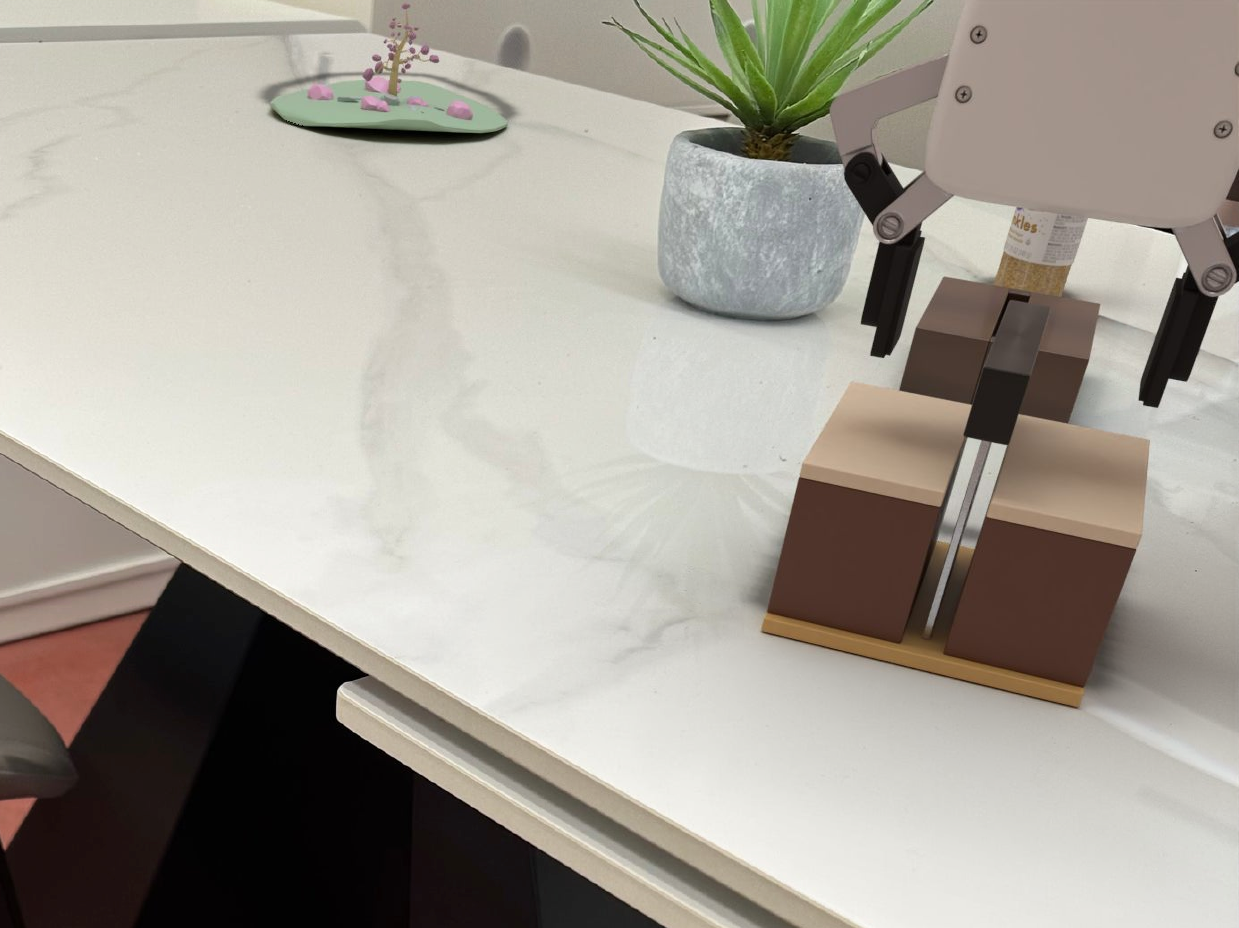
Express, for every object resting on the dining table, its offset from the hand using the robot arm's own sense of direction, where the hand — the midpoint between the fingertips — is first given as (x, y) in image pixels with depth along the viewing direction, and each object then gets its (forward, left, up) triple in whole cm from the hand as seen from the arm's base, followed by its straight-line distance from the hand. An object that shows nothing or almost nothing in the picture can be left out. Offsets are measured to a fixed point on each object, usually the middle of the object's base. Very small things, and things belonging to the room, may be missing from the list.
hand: (1013, 371), depth 61 cm
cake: (0, 0, -10) cm, 10 cm away
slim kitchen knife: (0, 0, -9) cm, 9 cm away
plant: (-33, -92, -10) cm, 98 cm away
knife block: (-26, -19, -10) cm, 33 cm away
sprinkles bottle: (-41, -29, -10) cm, 51 cm away
